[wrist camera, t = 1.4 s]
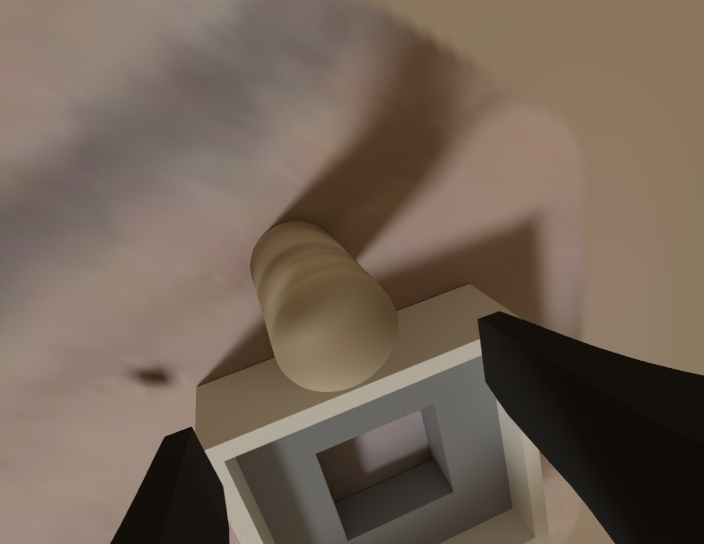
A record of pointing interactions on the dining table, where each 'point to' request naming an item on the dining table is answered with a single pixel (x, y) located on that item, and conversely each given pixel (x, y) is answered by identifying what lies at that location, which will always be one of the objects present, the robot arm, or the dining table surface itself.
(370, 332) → the peg
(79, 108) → the dining table surface
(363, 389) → the box
